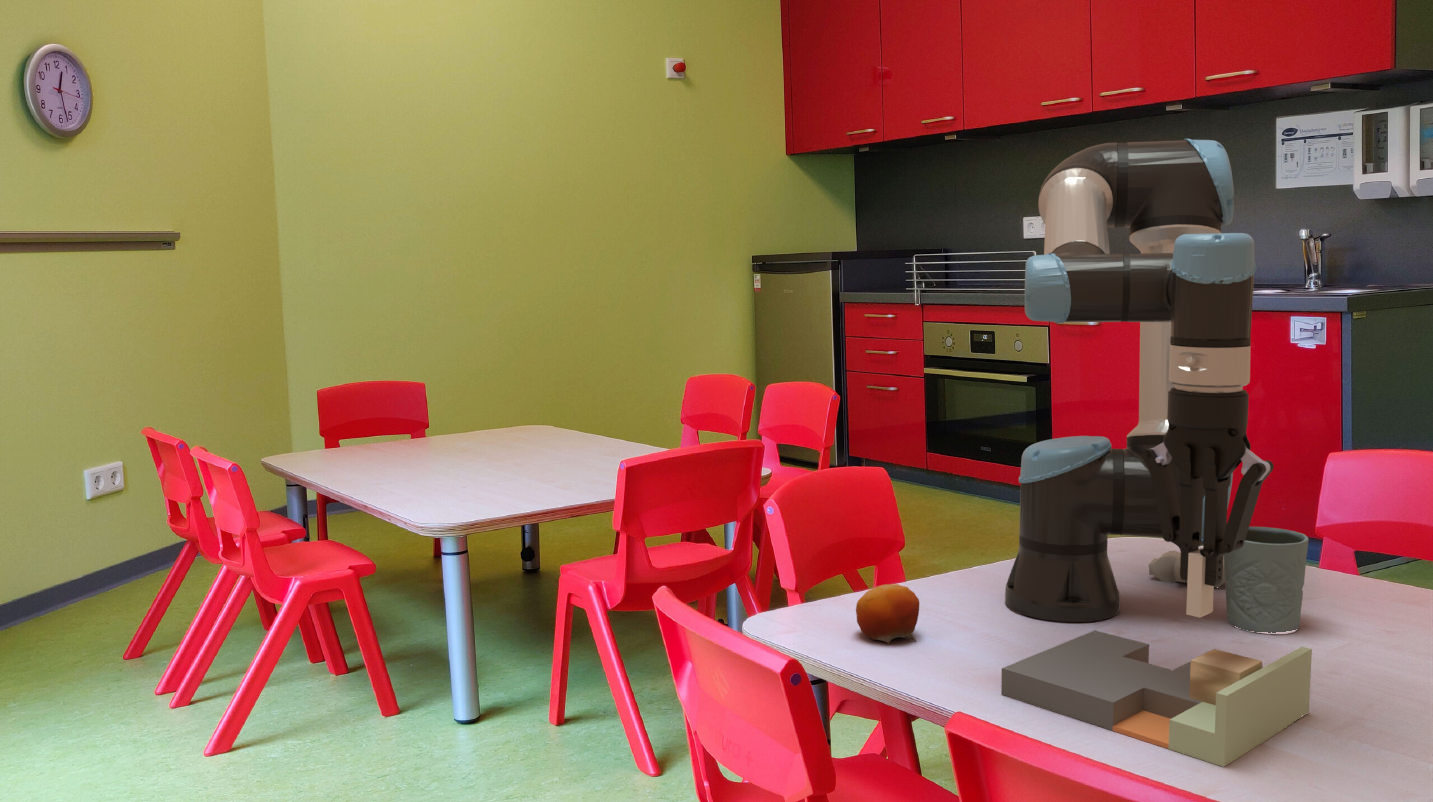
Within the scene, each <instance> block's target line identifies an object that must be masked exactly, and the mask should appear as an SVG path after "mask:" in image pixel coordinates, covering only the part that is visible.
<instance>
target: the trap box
mask: <svg viewBox="0 0 1433 802" xmlns="http://www.w3.org/2000/svg"><path fill="white" fill-rule="evenodd" d="M1312 651H1313V649H1312V648H1310V647H1305V646H1301V647H1300V646H1299V648H1297V649H1295V650H1293V651H1290V652H1289V653H1287V654H1286V655H1284V656H1281V657H1280V658H1278V659H1277V660H1274V661H1272V662H1270V663H1269V664H1267V665H1265V666H1264V667H1263V666H1262V668H1261V669H1260V670H1258V671H1256V672H1254V673H1252V674H1250V675H1248V676H1247V677H1245V678H1243V679H1241V680H1239V681H1237V682H1235V683H1234V684H1232V685H1230V686H1228V687H1226V688H1224V689H1223V690H1221V691H1219V692H1217V693H1216V705H1212V704H1209V703H1205V702H1202V701H1198V700H1195V699H1191V698H1189V696H1190V669H1191V660H1190V661H1189V662H1186V663H1184V664H1182V665H1180V666H1177V667H1176V668H1174V669H1170V668H1166V667H1163V666H1159V665H1156V664H1152V663H1150V662H1149V661H1150V660H1149V659H1150V644H1149V643H1146V642H1142V641H1138V640H1134V639H1130V638H1127V637H1124V636H1123V637H1122V636H1119V635H1116V634H1111V633H1108V632H1107V633H1106V632H1103V631H1099V630H1092V631H1090V632H1087V633H1085V634H1082V635H1080V636H1077V637H1075V638H1073V639H1070V640H1068V641H1064V642H1063V643H1061V644H1058V645H1055V646H1053V647H1050V648H1049V649H1046V650H1043V651H1041V652H1038V653H1036V654H1033V655H1031V656H1028V657H1026V658H1023V659H1021V660H1019V661H1016V662H1014V663H1011V664H1009V665H1007V666H1004V667H1001V686H1000V687H1001V691H1000V693H1001V695H1002V696H1006V697H1009V698H1012V699H1014V700H1018V701H1020V702H1024V703H1027V704H1030V705H1033V706H1036V707H1040V708H1042V709H1045V710H1047V711H1052V712H1054V713H1058V714H1061V715H1064V716H1066V717H1070V718H1073V719H1075V720H1079V721H1081V722H1085V723H1087V724H1088V723H1089V724H1091V725H1094V726H1097V727H1100V728H1104V729H1107V730H1110V731H1112V732H1115V733H1118V734H1122V735H1124V736H1128V737H1131V738H1134V739H1137V740H1140V741H1143V742H1146V743H1149V744H1152V745H1156V746H1157V747H1162V748H1164V749H1168V750H1170V751H1174V752H1177V753H1179V754H1183V755H1185V756H1188V757H1191V758H1192V757H1193V758H1196V759H1198V760H1201V761H1204V762H1207V763H1210V764H1214V765H1216V766H1220V767H1223V768H1224V767H1226V766H1228V765H1229V764H1231V763H1232V762H1234V761H1236V760H1237V759H1239V758H1240V757H1242V756H1244V755H1246V754H1247V753H1248V752H1250V751H1251V750H1253V749H1255V748H1256V747H1258V746H1259V745H1261V744H1263V743H1264V742H1266V741H1267V740H1269V739H1270V738H1272V737H1274V736H1275V735H1276V734H1278V733H1279V732H1282V731H1283V730H1285V729H1286V728H1287V726H1288V725H1289V726H1291V725H1292V724H1294V723H1295V722H1294V721H1296V720H1297V719H1299V718H1300V717H1301V716H1302V715H1304V714H1306V713H1308V711H1309V712H1310V695H1311V694H1310V693H1311V678H1312V677H1311V676H1312V675H1311V674H1312V658H1313V657H1312V654H1313V653H1312ZM1308 714H1309V713H1308ZM1300 719H1301V718H1300ZM1300 719H1299V720H1300ZM1297 721H1298V720H1297ZM1297 721H1296V722H1297ZM1293 722H1294V723H1293ZM1291 723H1292V724H1291ZM1290 724H1291V725H1290ZM1289 726H1288V727H1289ZM1284 728H1285V729H1284Z"/></svg>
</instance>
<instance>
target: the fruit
mask: <svg viewBox="0 0 1433 802" xmlns="http://www.w3.org/2000/svg"><path fill="white" fill-rule="evenodd" d="M855 614H856V615H855V616H856V623H857V625H858V626H859V628H860V632H862V634H863V635H865V636H866V637H867V638H869V639H871V640H873V641H882V642H885V643H888V645H889V644H890V642H891V641H892V640H894V639H898V638H909V639H912V640H913V641H915V642H917V640H916V638H914V637H913V635H912V634H913V633H914V631H915V630H916V626H917V623H918V619H919V616H920V615H919V614H920V599H919V598H918V597H917V595H916V593H915V592H914V591H912V589H910V588H909V587H908V586H905V585H904V586H903V585H901V584H897V583H891V584H881V585H878V586H875V587H873V588H871V589H869V590H867V591H866V592H865V593H864V594H863V595H861V597H860V598H859V599H858V600H857V602H856V605H855Z"/></svg>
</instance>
